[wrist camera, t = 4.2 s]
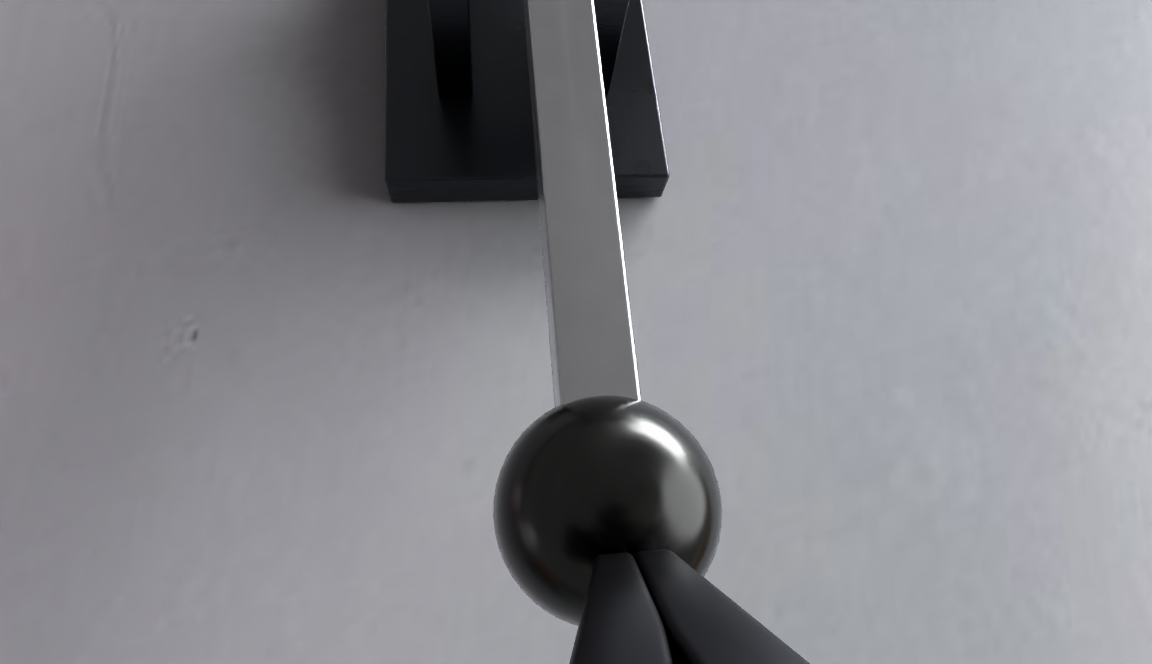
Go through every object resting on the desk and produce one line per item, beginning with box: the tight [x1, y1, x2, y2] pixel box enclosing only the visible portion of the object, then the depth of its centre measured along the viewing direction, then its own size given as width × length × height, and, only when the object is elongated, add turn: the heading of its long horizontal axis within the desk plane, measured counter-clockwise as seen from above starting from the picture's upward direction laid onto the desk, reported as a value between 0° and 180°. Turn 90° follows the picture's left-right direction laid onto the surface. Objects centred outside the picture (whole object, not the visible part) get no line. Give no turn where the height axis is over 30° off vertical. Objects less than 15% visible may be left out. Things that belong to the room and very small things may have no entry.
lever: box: [493, 0, 722, 626], centre depth 12 cm, size 18×3×3 cm, turn 5°
